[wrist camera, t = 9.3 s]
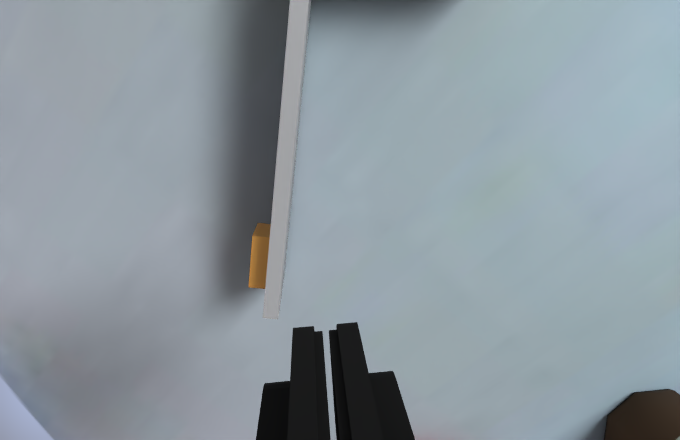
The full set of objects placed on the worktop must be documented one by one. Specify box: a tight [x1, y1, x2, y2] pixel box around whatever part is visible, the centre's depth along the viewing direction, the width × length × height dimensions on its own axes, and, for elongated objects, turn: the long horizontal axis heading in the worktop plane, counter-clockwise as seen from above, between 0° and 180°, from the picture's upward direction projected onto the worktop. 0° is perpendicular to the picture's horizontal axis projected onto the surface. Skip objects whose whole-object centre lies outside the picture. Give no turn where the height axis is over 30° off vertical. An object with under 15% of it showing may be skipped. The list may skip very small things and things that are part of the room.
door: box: [249, 0, 311, 319], centre depth 22 cm, size 2×18×6 cm, turn 173°
